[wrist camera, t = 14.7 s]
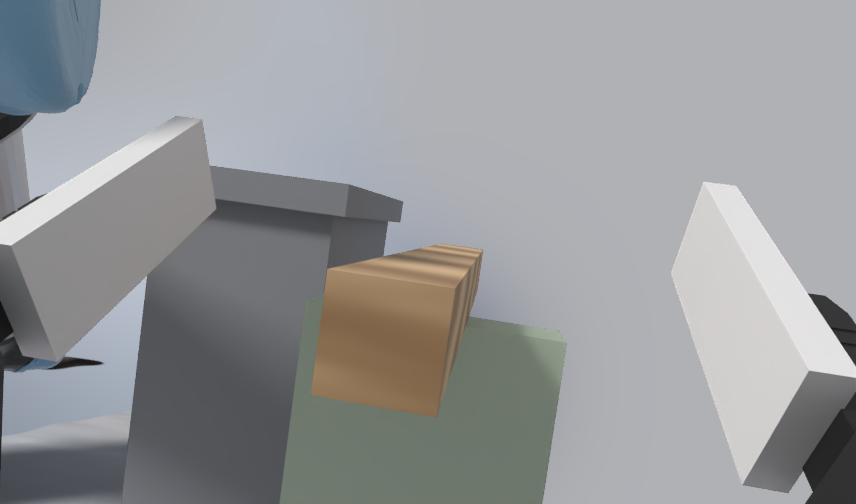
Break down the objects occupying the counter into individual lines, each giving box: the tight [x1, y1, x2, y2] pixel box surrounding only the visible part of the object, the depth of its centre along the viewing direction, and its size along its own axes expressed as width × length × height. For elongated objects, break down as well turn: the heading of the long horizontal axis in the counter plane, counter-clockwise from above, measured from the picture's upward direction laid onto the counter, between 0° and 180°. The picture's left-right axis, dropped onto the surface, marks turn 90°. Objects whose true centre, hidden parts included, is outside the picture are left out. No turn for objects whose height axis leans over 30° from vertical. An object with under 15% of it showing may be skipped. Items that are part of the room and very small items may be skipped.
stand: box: [121, 166, 403, 504], centre depth 46 cm, size 20×14×30 cm
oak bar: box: [311, 244, 483, 418], centre depth 27 cm, size 28×3×3 cm, turn 173°
